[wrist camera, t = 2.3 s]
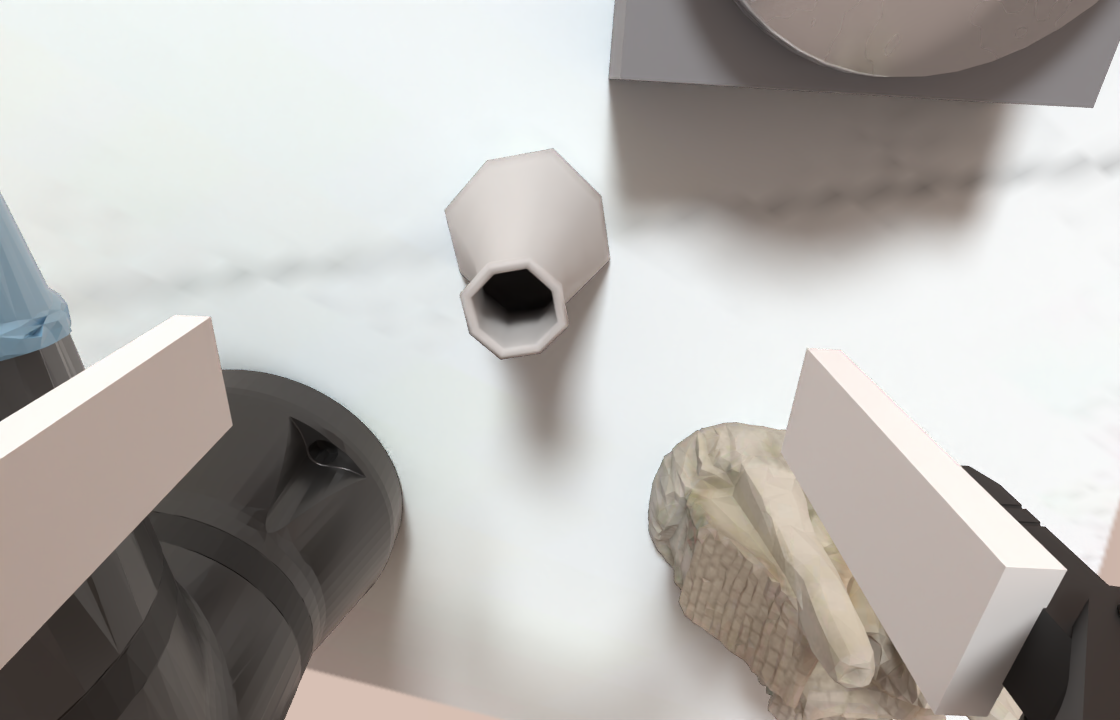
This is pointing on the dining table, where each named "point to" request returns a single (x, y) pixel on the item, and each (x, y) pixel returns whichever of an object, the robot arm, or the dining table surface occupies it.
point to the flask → (525, 248)
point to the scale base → (761, 62)
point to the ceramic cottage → (777, 582)
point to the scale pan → (908, 31)
